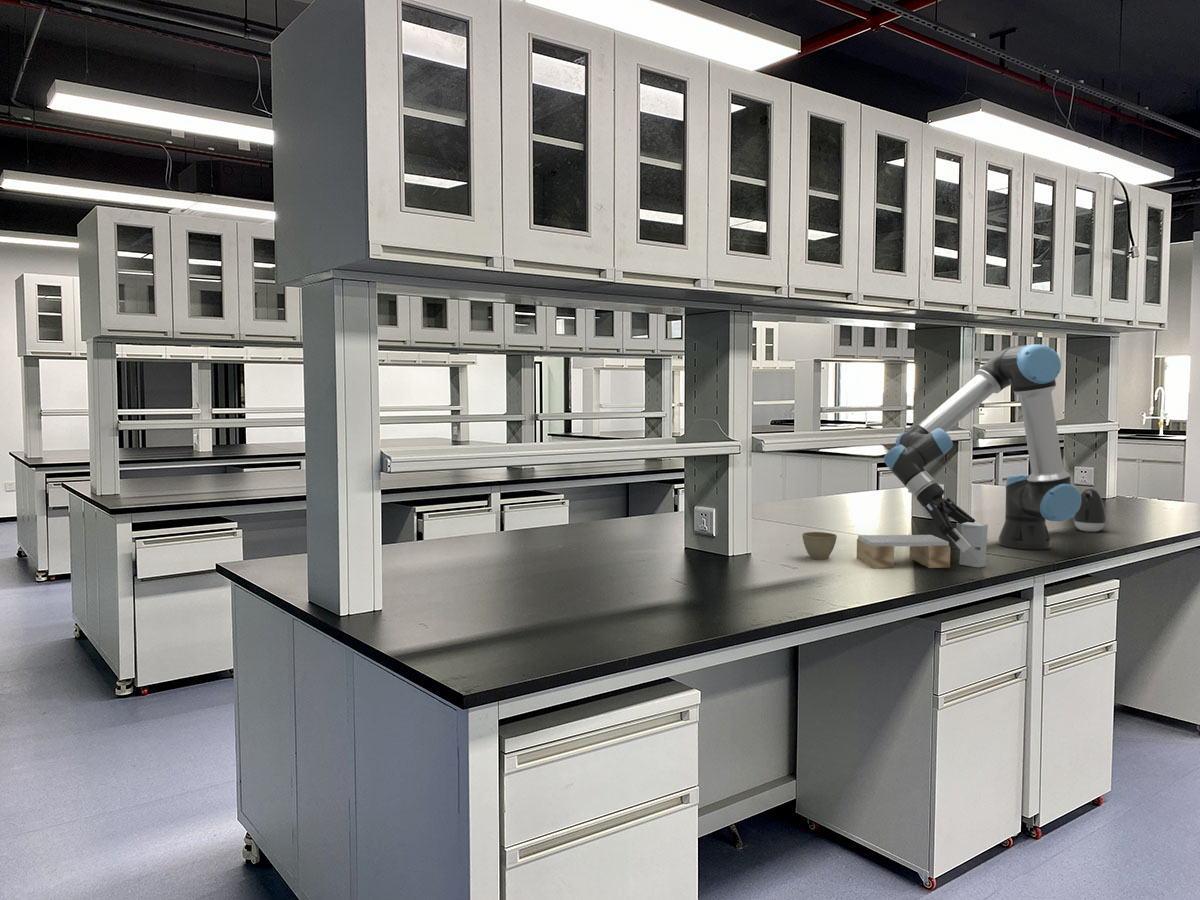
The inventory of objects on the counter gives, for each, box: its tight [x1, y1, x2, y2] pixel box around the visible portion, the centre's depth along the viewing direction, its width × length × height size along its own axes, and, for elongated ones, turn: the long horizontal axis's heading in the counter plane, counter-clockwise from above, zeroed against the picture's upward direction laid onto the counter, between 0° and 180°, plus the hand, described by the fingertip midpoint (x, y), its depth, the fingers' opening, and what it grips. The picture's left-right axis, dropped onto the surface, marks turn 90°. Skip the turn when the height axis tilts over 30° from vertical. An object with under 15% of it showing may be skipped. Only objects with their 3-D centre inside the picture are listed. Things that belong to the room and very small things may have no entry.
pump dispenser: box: [1072, 488, 1107, 533], centre depth 298 cm, size 10×10×15 cm
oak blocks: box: [856, 538, 951, 569], centre depth 241 cm, size 22×14×6 cm, turn 91°
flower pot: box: [802, 531, 838, 561], centre depth 249 cm, size 10×10×7 cm
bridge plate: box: [857, 534, 950, 547], centre depth 241 cm, size 22×12×1 cm, turn 91°
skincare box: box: [958, 522, 989, 568], centre depth 238 cm, size 6×4×12 cm
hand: (976, 546), depth 237 cm, fingers open, 13 cm apart
